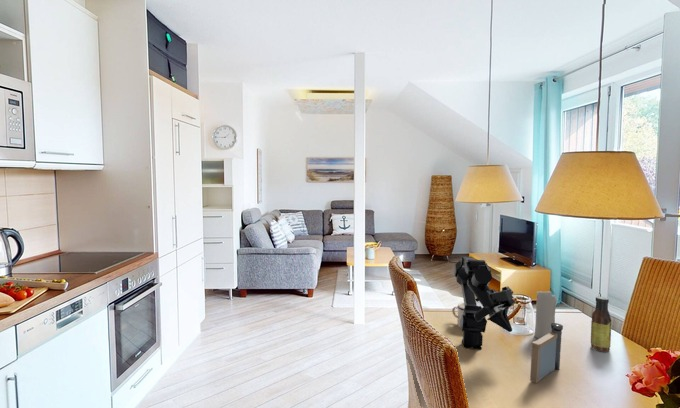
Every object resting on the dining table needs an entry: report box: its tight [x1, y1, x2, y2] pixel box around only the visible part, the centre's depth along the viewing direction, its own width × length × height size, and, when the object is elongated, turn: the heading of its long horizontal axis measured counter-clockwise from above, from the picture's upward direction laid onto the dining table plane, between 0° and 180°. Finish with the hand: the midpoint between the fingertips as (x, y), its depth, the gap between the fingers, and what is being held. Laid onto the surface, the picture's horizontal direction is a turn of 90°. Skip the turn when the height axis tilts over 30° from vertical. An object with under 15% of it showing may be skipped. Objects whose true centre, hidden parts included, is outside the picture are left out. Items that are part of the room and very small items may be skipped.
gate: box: [529, 332, 557, 384], centre depth 121 cm, size 14×2×12 cm, turn 129°
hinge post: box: [551, 322, 564, 371], centre depth 126 cm, size 4×4×15 cm
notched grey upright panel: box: [534, 290, 558, 340], centre depth 153 cm, size 7×14×20 cm, turn 124°
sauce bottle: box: [590, 296, 612, 353], centre depth 141 cm, size 6×6×20 cm
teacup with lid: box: [451, 301, 465, 329], centre depth 162 cm, size 12×9×12 cm
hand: (511, 331), depth 126 cm, fingers closed
